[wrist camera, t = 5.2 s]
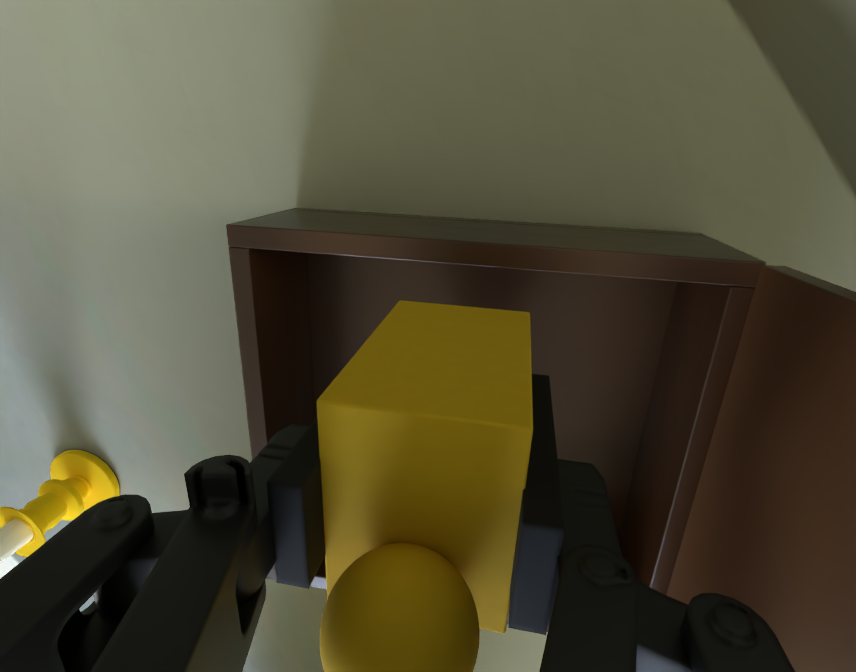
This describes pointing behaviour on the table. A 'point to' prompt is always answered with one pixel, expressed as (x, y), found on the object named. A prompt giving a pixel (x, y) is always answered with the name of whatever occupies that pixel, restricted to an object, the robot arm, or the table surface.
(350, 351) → the chest
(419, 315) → the duck
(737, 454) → the lid
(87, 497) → the candle
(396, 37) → the table surface
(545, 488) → the robot arm
